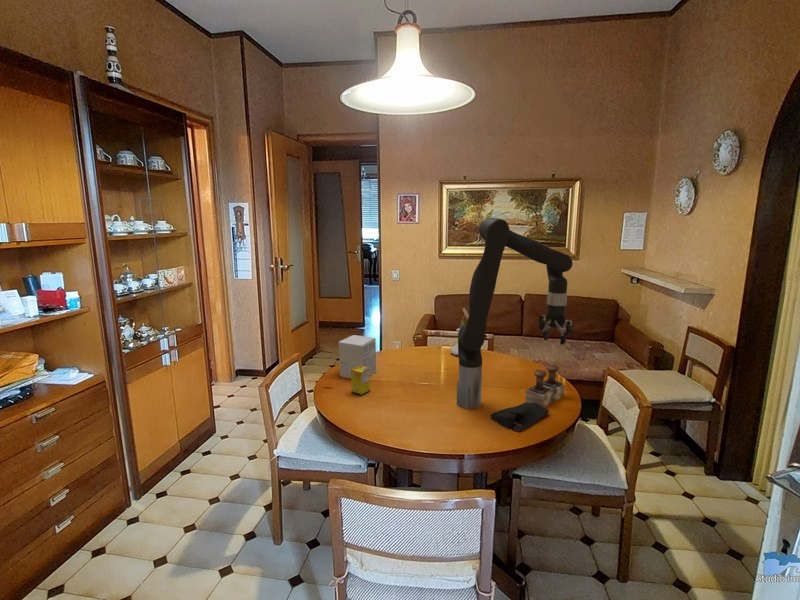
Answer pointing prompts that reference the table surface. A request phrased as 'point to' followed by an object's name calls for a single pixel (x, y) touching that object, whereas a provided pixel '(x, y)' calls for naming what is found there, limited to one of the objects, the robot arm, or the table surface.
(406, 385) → the table surface
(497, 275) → the robot arm
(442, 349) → the table surface
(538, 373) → the brown rounded piece
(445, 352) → the table surface
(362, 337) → the supplement box
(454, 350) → the flower in vase
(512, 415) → the black folded cloth
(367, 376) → the supplement box
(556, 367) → the brown mushroom knob
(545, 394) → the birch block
